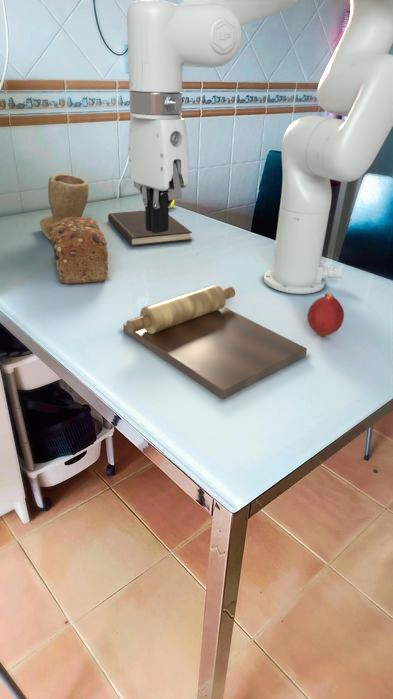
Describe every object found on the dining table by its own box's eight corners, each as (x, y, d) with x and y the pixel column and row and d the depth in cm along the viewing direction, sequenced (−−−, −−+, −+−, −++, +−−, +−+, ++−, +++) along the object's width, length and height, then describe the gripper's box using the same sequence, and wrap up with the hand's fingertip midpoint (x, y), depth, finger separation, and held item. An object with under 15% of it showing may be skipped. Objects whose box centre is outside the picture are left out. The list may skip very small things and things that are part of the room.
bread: (110, 282, 97) (107, 234, 92) (56, 287, 95) (50, 237, 89) (99, 252, 113) (96, 209, 108) (52, 255, 110) (47, 211, 105)
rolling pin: (222, 298, 89) (223, 276, 86) (239, 307, 86) (241, 284, 83) (122, 333, 76) (121, 309, 74) (138, 344, 73) (137, 319, 71)
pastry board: (203, 304, 90) (204, 296, 89) (305, 356, 75) (307, 348, 74) (123, 332, 80) (123, 324, 79) (222, 399, 64) (223, 390, 64)
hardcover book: (161, 217, 140) (161, 209, 139) (191, 240, 122) (191, 231, 121) (108, 221, 135) (107, 213, 134) (131, 246, 117) (130, 237, 116)
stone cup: (96, 243, 118) (91, 180, 111) (47, 247, 114) (38, 182, 107) (85, 225, 130) (80, 168, 123) (40, 229, 126) (31, 170, 119)
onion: (314, 324, 84) (322, 282, 80) (345, 335, 81) (354, 292, 77) (298, 336, 80) (305, 292, 76) (329, 348, 77) (339, 303, 73)
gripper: (210, 109, 67) (204, 238, 76) (146, 101, 76) (148, 216, 86) (167, 111, 62) (167, 247, 72) (105, 102, 72) (112, 223, 81)
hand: (157, 230), depth 79 cm, fingers closed
